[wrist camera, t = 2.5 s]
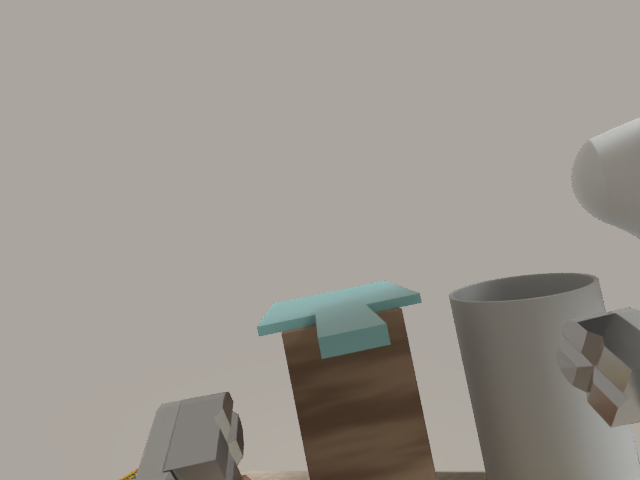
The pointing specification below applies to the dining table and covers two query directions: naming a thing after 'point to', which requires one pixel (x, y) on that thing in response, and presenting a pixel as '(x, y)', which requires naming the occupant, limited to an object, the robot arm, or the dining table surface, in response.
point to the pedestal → (359, 408)
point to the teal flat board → (341, 316)
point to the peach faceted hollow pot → (245, 477)
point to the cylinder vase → (535, 381)
